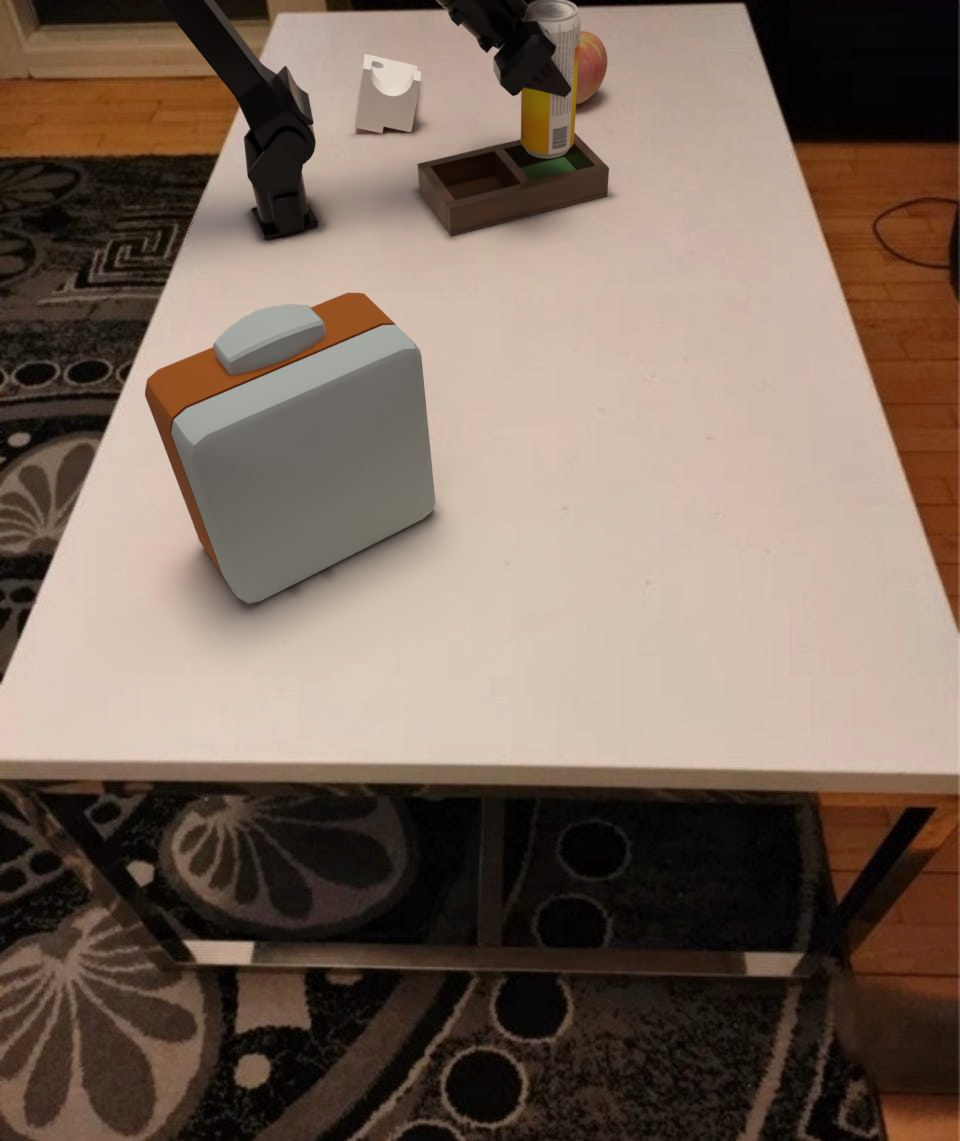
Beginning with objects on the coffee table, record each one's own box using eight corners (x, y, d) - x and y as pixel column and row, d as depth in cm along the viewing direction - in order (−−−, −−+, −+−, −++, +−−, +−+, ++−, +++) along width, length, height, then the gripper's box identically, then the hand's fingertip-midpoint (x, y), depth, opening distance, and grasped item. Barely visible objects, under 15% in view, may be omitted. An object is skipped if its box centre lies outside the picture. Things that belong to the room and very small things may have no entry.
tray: (419, 191, 120) (417, 163, 117) (568, 155, 124) (570, 127, 121) (451, 236, 114) (449, 207, 111) (607, 196, 118) (609, 167, 115)
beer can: (552, 129, 119) (558, -8, 107) (584, 150, 116) (593, 11, 104) (510, 144, 117) (511, 5, 105) (540, 166, 114) (545, 26, 102)
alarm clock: (388, 456, 91) (360, 257, 75) (440, 514, 86) (421, 315, 71) (199, 545, 85) (125, 349, 69) (244, 613, 80) (175, 420, 64)
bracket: (409, 139, 130) (420, 81, 124) (354, 127, 128) (363, 68, 123) (412, 91, 138) (422, 35, 132) (360, 80, 136) (369, 22, 131)
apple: (615, 94, 134) (620, 31, 127) (579, 122, 129) (582, 58, 123) (560, 78, 137) (562, 15, 131) (523, 104, 132) (523, 41, 126)
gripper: (537, -56, 91) (642, 57, 101) (495, -122, 103) (592, -15, 113) (454, 44, 96) (562, 142, 106) (423, -30, 108) (522, 65, 118)
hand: (561, 79), depth 110 cm, fingers closed on beer can, 6 cm apart
